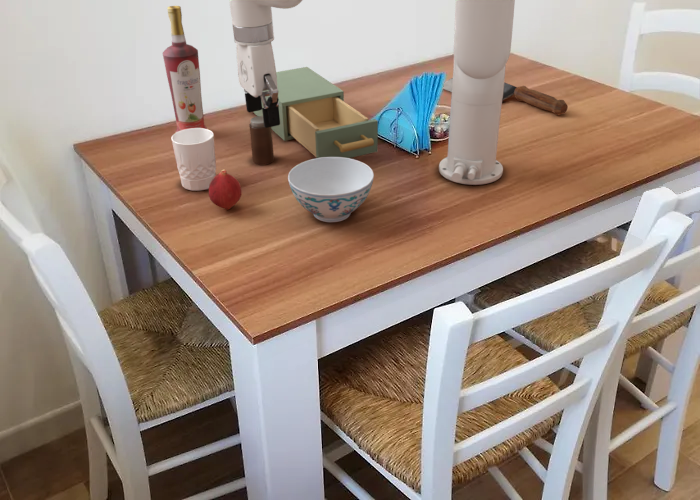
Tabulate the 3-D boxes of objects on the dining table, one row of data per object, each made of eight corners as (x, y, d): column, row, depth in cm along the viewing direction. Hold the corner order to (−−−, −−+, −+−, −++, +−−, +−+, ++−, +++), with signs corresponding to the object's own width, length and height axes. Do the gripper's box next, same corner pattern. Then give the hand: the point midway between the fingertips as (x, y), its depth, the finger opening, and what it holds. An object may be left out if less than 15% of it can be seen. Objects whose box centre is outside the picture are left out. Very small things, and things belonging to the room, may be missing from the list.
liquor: (181, 144, 156) (161, 13, 141) (171, 133, 161) (151, 5, 146) (213, 137, 158) (196, 8, 144) (202, 126, 164) (185, 1, 149)
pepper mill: (268, 165, 146) (265, 124, 141) (249, 163, 147) (245, 122, 142) (277, 157, 149) (274, 116, 144) (258, 154, 150) (254, 114, 146)
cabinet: (344, 128, 162) (343, 91, 157) (284, 141, 156) (281, 102, 152) (308, 101, 177) (307, 66, 172) (252, 112, 171) (249, 76, 167)
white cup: (183, 195, 135) (175, 147, 130) (175, 178, 141) (167, 131, 136) (223, 188, 138) (217, 140, 132) (214, 171, 144) (208, 125, 138)
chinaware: (279, 203, 132) (276, 166, 128) (353, 187, 137) (352, 151, 133) (308, 242, 120) (306, 201, 116) (387, 223, 125) (388, 183, 121)
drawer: (388, 159, 145) (388, 127, 142) (328, 173, 140) (327, 141, 136) (338, 122, 163) (337, 93, 159) (283, 133, 157) (281, 103, 154)
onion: (211, 218, 127) (206, 178, 123) (210, 203, 132) (205, 164, 128) (244, 215, 128) (239, 175, 124) (242, 200, 133) (237, 161, 129)
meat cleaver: (436, 86, 185) (437, 71, 182) (468, 77, 190) (469, 62, 188) (535, 127, 162) (537, 110, 159) (568, 115, 167) (571, 99, 165)
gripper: (220, 25, 139) (231, 109, 148) (250, 46, 126) (261, 136, 135) (256, 20, 142) (265, 102, 151) (289, 39, 129) (297, 128, 138)
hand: (263, 118), depth 143 cm, fingers open, 9 cm apart
